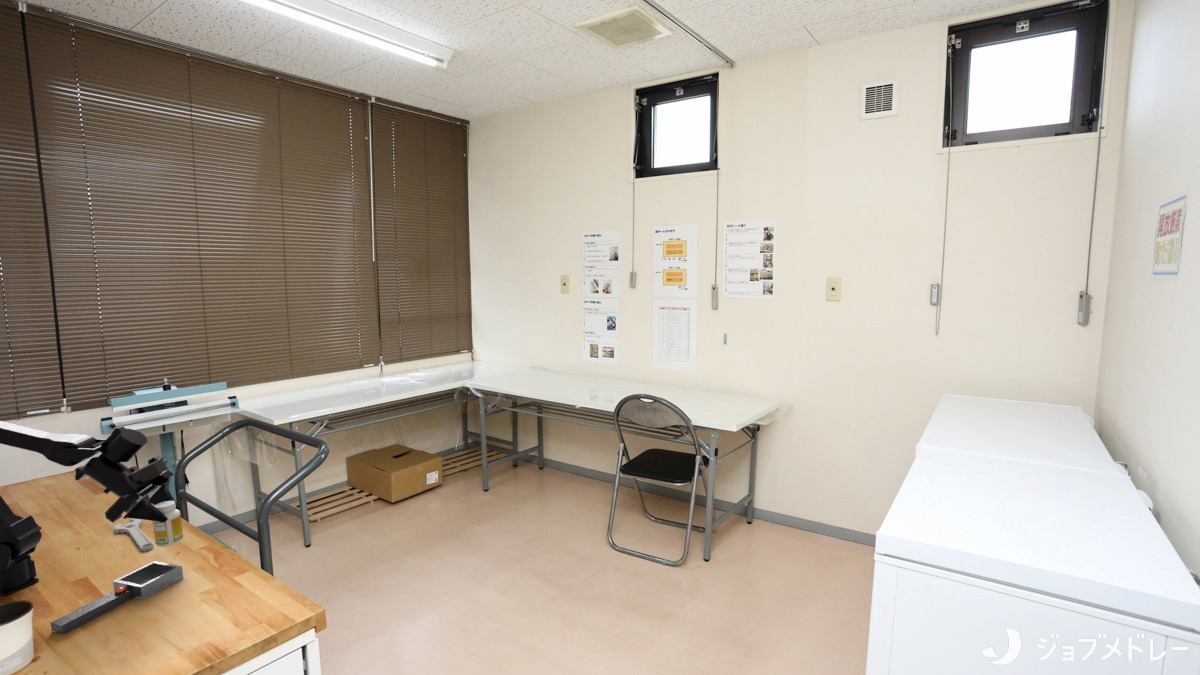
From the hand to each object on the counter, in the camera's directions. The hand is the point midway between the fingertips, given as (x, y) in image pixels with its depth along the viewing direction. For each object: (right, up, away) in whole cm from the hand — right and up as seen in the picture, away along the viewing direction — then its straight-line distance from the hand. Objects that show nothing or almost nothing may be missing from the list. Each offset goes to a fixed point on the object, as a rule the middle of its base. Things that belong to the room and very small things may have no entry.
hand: (172, 515), depth 136 cm
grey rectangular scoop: (-3, -15, -12) cm, 20 cm away
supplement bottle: (-1, -7, +1) cm, 7 cm away
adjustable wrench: (-25, -12, +18) cm, 33 cm away
